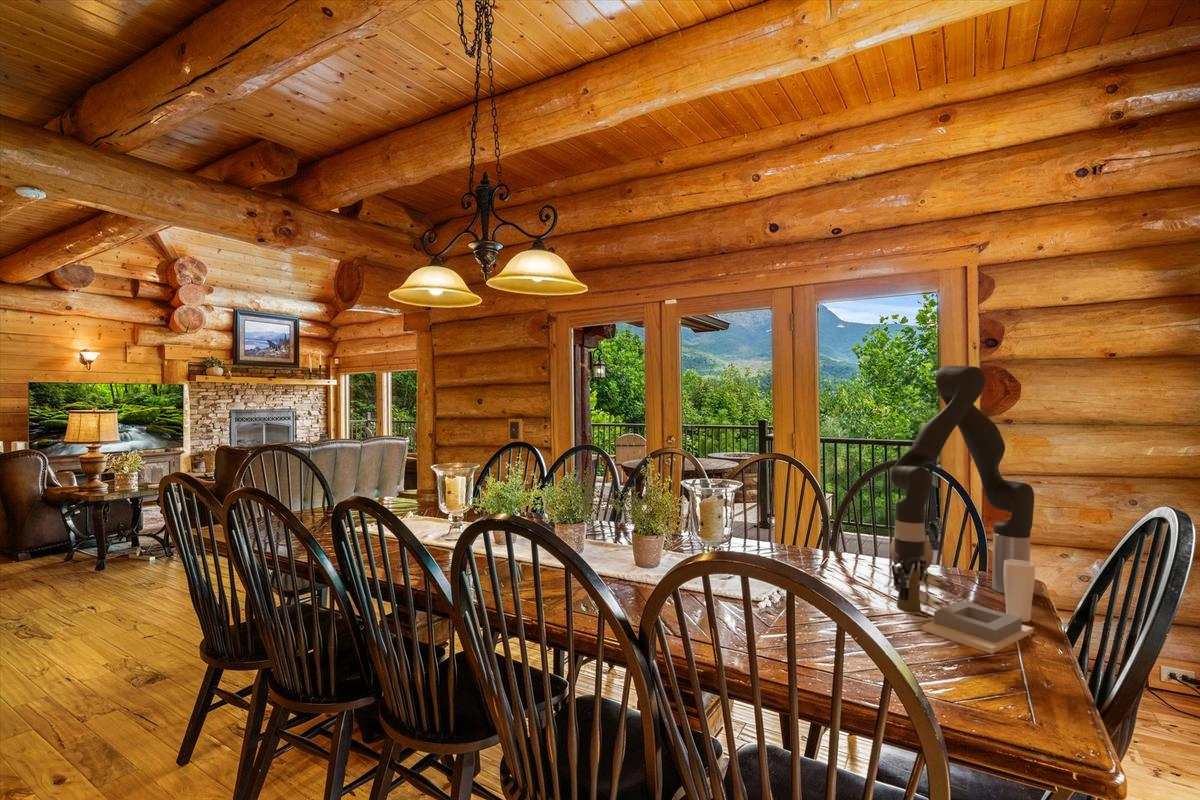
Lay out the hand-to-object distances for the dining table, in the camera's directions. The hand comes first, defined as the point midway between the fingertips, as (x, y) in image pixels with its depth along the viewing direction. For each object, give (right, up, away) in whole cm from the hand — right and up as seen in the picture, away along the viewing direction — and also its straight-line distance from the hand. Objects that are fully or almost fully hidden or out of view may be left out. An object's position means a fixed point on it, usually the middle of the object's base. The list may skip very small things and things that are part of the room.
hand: (908, 598), depth 164 cm
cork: (0, -3, 0) cm, 3 cm away
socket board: (+9, -3, -15) cm, 18 cm away
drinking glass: (+25, -3, -7) cm, 26 cm away
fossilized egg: (+17, -3, +32) cm, 36 cm away
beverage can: (+8, -3, +16) cm, 18 cm away
